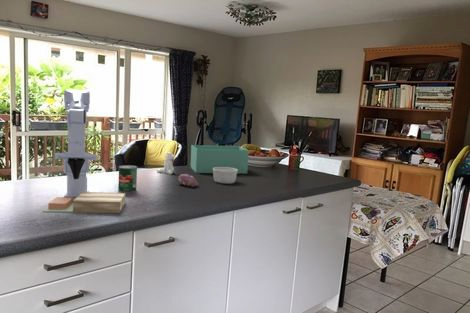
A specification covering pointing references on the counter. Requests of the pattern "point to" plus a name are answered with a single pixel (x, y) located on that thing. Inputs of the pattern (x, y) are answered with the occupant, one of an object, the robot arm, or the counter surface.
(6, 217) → the counter surface
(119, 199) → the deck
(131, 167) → the canned tomato
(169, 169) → the seated beast figurine
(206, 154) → the box
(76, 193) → the robot arm
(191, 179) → the pink lumpy figurine
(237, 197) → the counter surface
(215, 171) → the ramekin
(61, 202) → the tile
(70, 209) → the mat
